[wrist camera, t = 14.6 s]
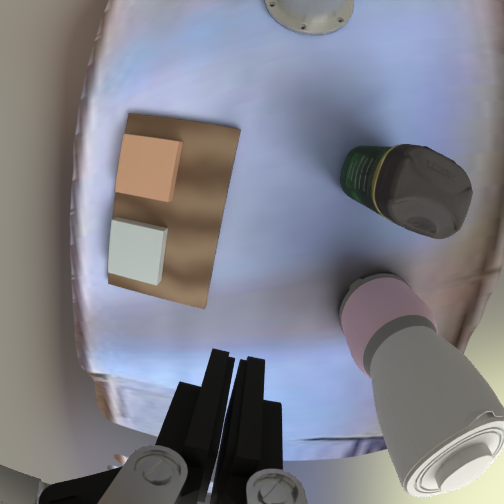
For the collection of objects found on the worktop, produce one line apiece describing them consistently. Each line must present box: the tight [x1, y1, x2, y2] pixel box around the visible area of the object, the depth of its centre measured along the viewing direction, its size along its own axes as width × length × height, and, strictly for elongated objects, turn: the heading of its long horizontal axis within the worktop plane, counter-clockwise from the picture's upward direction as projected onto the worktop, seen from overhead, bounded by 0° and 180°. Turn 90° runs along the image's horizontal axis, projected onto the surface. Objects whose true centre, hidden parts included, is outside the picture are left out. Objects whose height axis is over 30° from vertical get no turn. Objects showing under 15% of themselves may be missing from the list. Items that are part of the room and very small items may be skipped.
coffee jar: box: [341, 144, 473, 239], centre depth 32 cm, size 10×8×19 cm
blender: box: [339, 273, 504, 497], centre depth 32 cm, size 16×12×32 cm
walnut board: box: [108, 113, 241, 309], centre depth 44 cm, size 26×16×1 cm, turn 168°
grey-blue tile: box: [108, 217, 168, 285], centre depth 44 cm, size 8×2×8 cm
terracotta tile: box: [115, 134, 183, 202], centre depth 40 cm, size 8×2×8 cm
